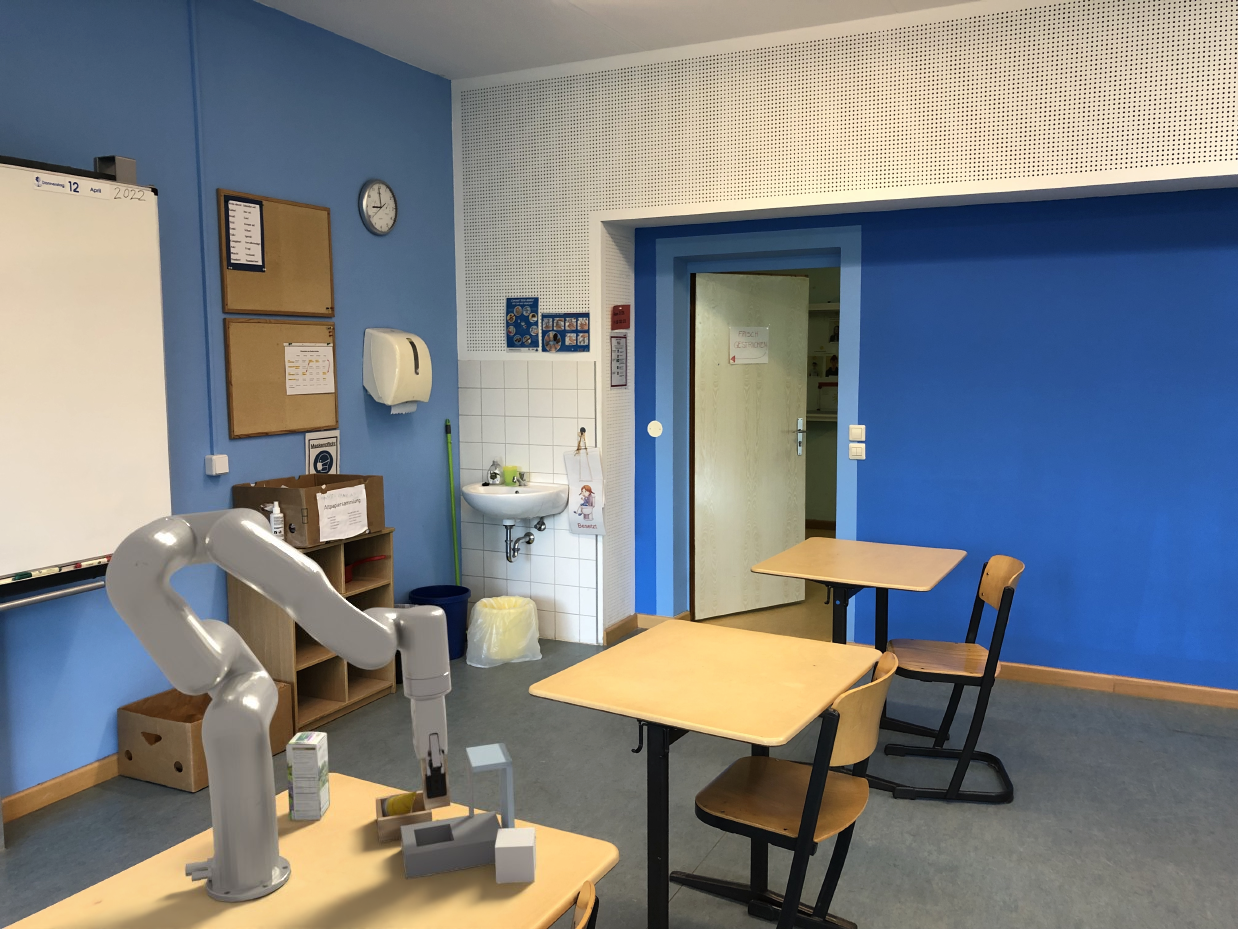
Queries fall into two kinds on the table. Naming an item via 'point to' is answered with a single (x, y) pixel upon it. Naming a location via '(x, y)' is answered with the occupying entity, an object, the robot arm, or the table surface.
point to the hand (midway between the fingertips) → (435, 789)
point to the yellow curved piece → (398, 804)
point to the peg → (428, 803)
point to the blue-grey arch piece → (499, 759)
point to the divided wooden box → (400, 818)
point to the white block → (515, 855)
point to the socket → (449, 844)
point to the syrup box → (308, 776)
